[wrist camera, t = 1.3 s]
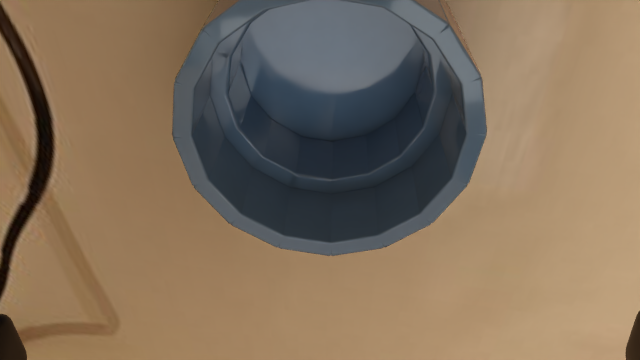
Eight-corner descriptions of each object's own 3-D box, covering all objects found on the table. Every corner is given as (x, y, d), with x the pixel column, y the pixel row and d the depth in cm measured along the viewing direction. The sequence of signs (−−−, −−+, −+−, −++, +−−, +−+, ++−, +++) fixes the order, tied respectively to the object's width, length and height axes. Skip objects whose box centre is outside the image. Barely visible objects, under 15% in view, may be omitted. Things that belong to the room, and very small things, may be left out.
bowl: (175, 84, 18) (125, 173, 14) (289, -130, 15) (267, -98, 11) (363, 188, 20) (367, 293, 16) (502, 17, 17) (553, 93, 13)
